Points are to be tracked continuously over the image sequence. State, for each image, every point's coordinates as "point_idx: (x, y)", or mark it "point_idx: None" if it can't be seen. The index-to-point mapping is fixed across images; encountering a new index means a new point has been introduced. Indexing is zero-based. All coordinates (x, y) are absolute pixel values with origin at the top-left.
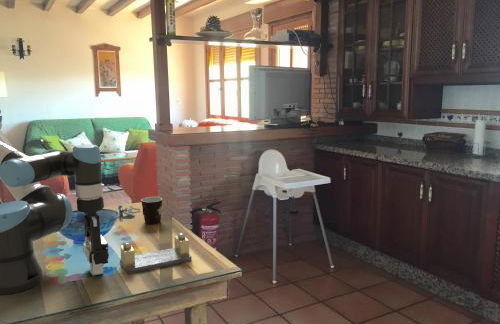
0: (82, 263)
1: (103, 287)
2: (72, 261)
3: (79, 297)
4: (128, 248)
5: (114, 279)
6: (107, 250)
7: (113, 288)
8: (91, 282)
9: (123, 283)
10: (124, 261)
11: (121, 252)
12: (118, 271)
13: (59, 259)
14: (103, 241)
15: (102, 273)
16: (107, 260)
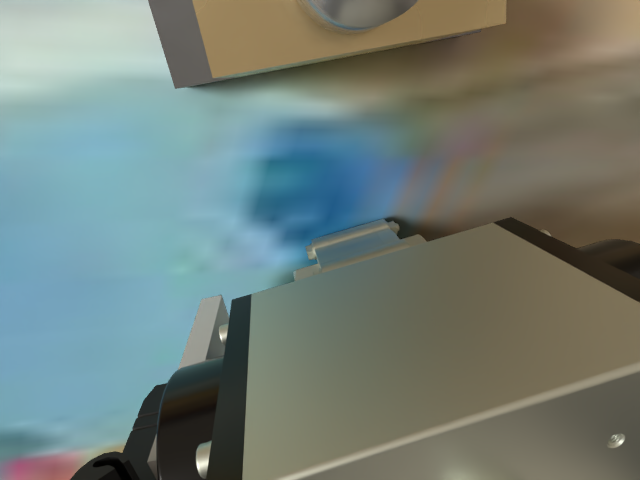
0: (149, 355)
1: (581, 210)
2: (103, 410)
3: None
4: None
5: (504, 141)
6: (629, 280)
7: (633, 149)
8: None
9: (603, 76)
10: (407, 44)
11: (272, 68)
12: (375, 108)
13: (58, 474)
14: (616, 409)
15: (398, 227)
16: (543, 232)
